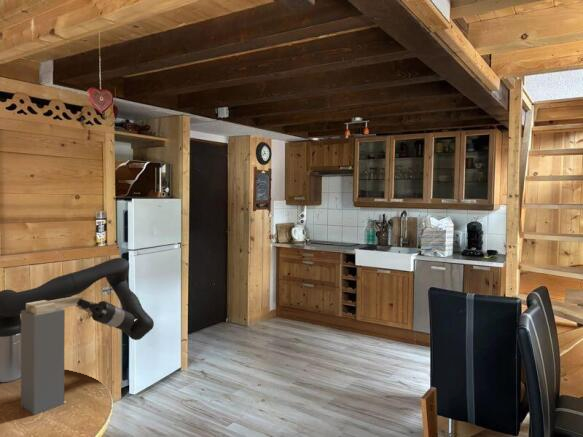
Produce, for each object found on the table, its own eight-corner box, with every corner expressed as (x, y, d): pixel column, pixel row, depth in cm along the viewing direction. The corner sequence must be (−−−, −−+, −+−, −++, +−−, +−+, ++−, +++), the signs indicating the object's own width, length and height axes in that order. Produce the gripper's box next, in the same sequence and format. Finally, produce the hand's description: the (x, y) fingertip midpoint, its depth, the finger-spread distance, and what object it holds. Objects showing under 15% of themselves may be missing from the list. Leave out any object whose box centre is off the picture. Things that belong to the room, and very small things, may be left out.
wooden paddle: (25, 310, 142) (25, 303, 142) (75, 301, 156) (75, 294, 156) (36, 314, 138) (36, 307, 138) (86, 305, 152) (86, 297, 152)
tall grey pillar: (21, 406, 144) (21, 310, 142) (50, 396, 151) (50, 305, 150) (34, 415, 139) (34, 316, 137) (64, 403, 146) (64, 310, 145)
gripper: (102, 301, 168) (66, 286, 157) (124, 308, 160) (88, 292, 148) (93, 320, 166) (55, 306, 154) (115, 327, 158) (77, 313, 146)
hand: (72, 299), depth 151 cm, fingers open, 8 cm apart
